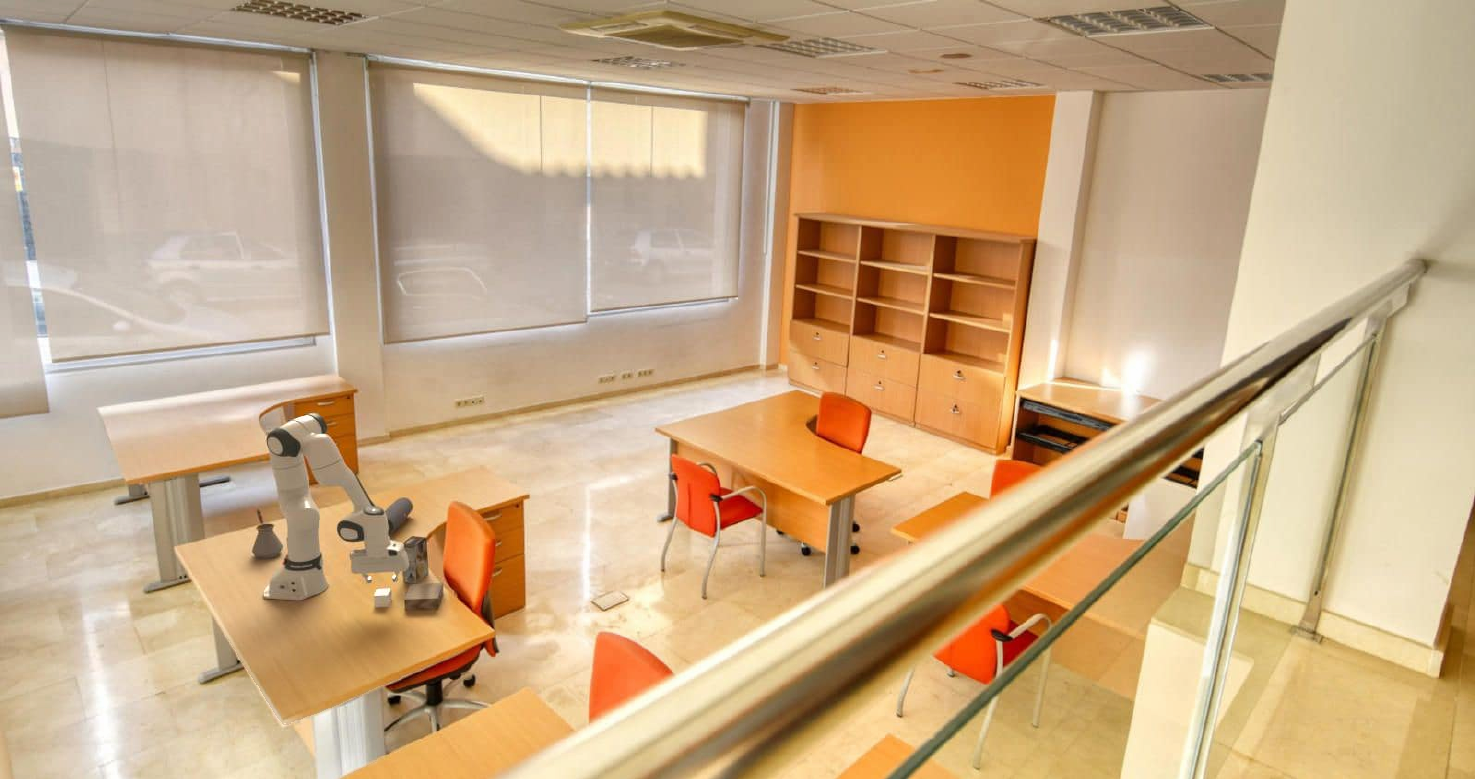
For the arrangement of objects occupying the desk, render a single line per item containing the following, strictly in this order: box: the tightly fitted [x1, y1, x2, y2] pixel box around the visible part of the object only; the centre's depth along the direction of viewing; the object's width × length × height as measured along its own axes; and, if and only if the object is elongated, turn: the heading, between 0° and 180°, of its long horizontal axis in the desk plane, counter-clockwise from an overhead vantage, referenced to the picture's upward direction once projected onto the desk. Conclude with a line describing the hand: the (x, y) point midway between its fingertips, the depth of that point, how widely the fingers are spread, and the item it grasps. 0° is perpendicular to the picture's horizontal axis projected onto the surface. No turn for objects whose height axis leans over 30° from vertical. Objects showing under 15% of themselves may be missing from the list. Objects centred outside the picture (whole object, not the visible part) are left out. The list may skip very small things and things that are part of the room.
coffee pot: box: [251, 508, 284, 560], centre depth 367 cm, size 21×12×15 cm, turn 37°
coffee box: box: [401, 535, 429, 584], centre depth 350 cm, size 9×6×16 cm
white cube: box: [373, 588, 393, 608], centre depth 331 cm, size 5×5×5 cm
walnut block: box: [403, 582, 444, 612], centre depth 333 cm, size 12×12×5 cm
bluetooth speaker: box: [384, 496, 414, 535], centre depth 394 cm, size 23×9×10 cm, turn 179°
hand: (382, 581), depth 329 cm, fingers open, 8 cm apart
